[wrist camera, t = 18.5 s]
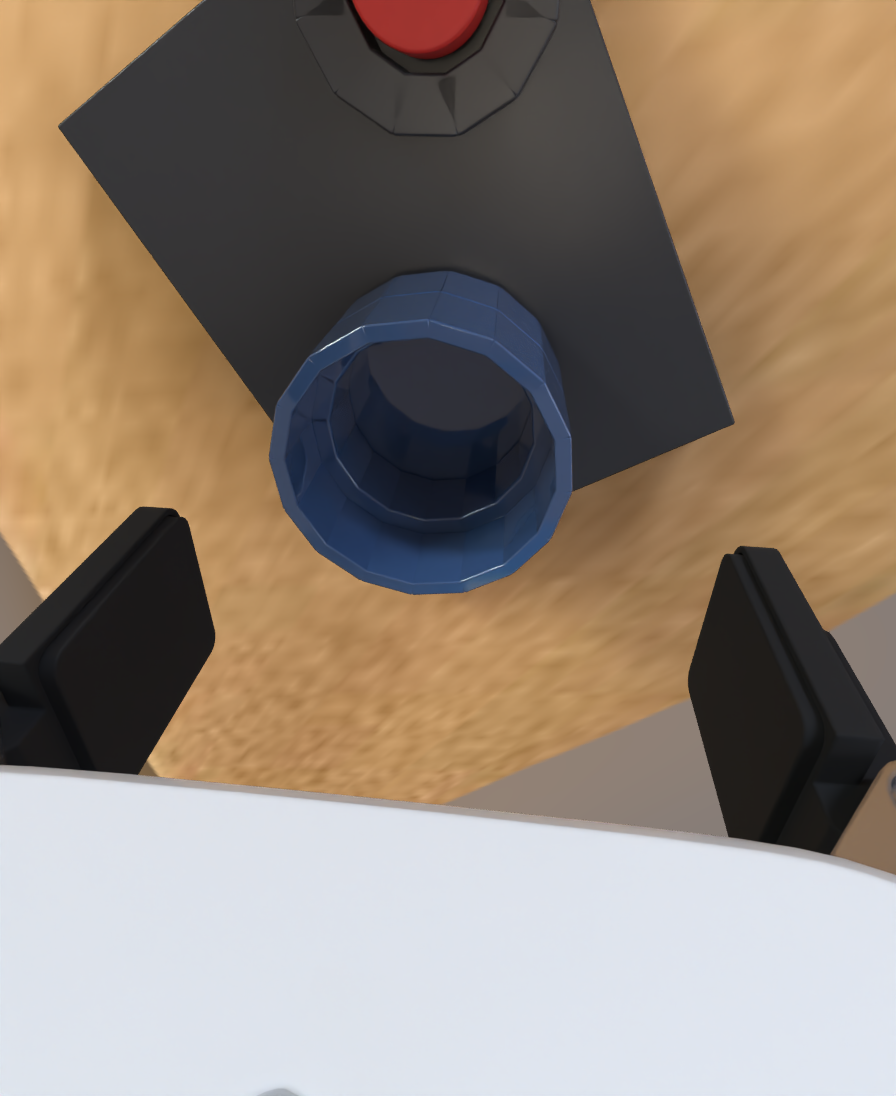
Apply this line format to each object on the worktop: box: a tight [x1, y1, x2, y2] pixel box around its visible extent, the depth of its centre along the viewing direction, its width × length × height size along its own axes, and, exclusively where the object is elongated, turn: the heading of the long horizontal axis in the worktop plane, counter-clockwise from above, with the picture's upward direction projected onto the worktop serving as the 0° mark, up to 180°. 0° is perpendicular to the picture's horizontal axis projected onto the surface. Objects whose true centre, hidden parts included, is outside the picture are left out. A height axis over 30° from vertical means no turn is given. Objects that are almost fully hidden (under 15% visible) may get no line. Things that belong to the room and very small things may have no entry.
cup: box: [269, 271, 572, 595], centre depth 18 cm, size 7×7×6 cm
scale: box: [58, 0, 735, 492], centre depth 19 cm, size 16×13×4 cm
